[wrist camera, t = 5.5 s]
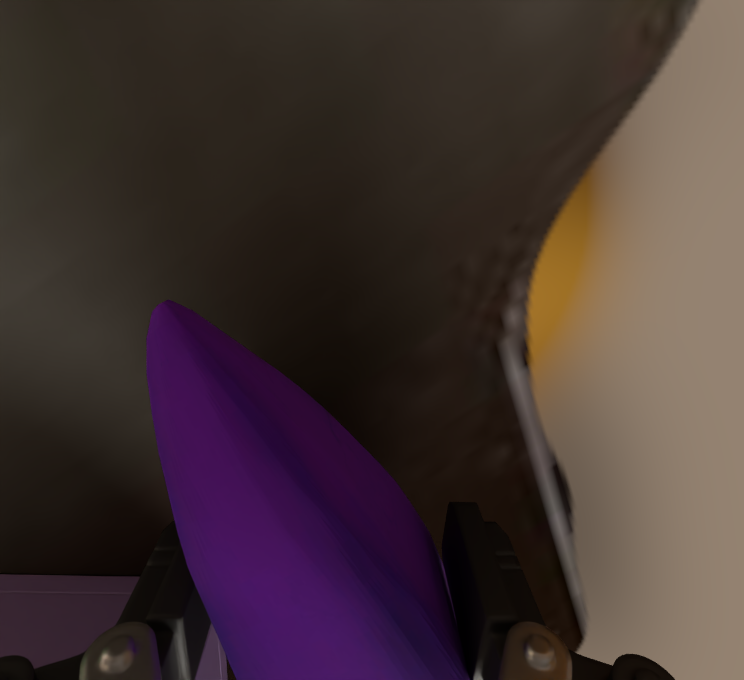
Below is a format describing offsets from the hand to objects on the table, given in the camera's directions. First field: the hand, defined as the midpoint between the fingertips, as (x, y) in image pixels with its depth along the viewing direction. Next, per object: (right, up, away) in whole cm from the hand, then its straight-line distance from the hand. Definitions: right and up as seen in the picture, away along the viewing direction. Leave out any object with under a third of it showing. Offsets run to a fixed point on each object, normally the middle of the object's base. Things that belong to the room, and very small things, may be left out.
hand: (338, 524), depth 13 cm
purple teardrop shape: (0, +1, +1) cm, 1 cm away
